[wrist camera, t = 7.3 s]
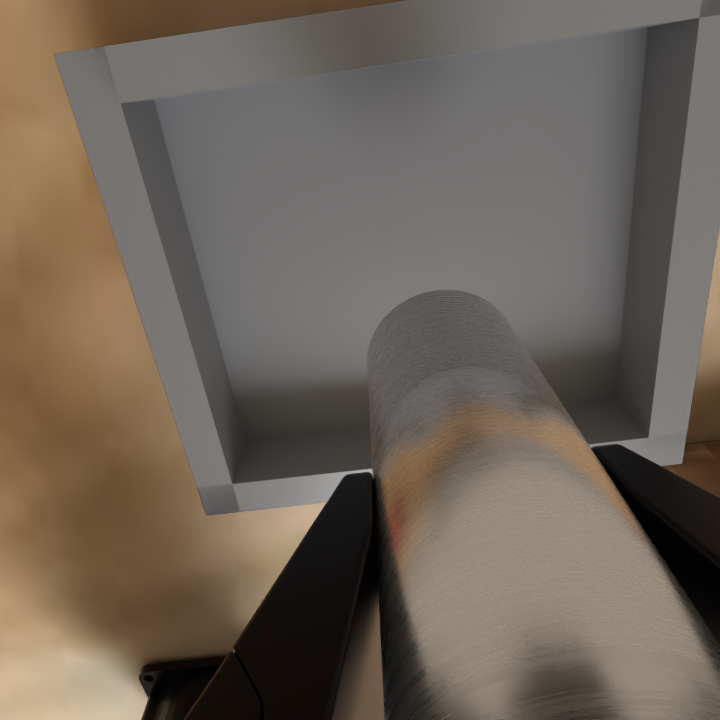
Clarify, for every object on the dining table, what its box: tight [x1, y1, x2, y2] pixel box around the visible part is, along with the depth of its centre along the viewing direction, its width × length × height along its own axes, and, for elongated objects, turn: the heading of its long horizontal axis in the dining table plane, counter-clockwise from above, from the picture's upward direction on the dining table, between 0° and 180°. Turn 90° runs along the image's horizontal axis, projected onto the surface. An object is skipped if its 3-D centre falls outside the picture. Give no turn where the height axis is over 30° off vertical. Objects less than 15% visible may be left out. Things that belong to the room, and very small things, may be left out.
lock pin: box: [367, 290, 720, 720], centre depth 8 cm, size 3×3×9 cm
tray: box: [54, 0, 720, 515], centre depth 17 cm, size 16×14×4 cm
